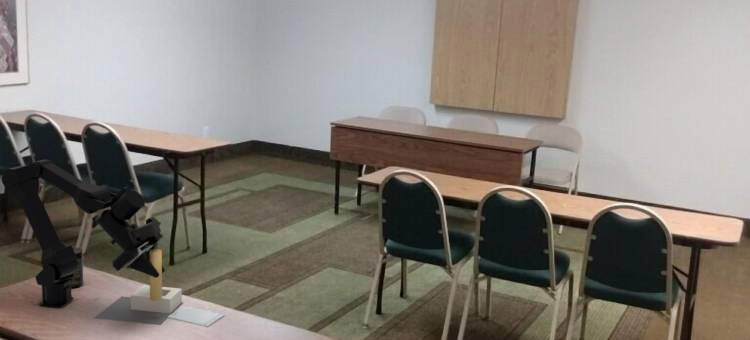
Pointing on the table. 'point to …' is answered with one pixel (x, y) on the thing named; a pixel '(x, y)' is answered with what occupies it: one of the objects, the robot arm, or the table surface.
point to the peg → (157, 282)
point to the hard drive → (196, 316)
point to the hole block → (165, 305)
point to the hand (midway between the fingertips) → (160, 274)
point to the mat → (132, 313)
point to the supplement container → (78, 269)
